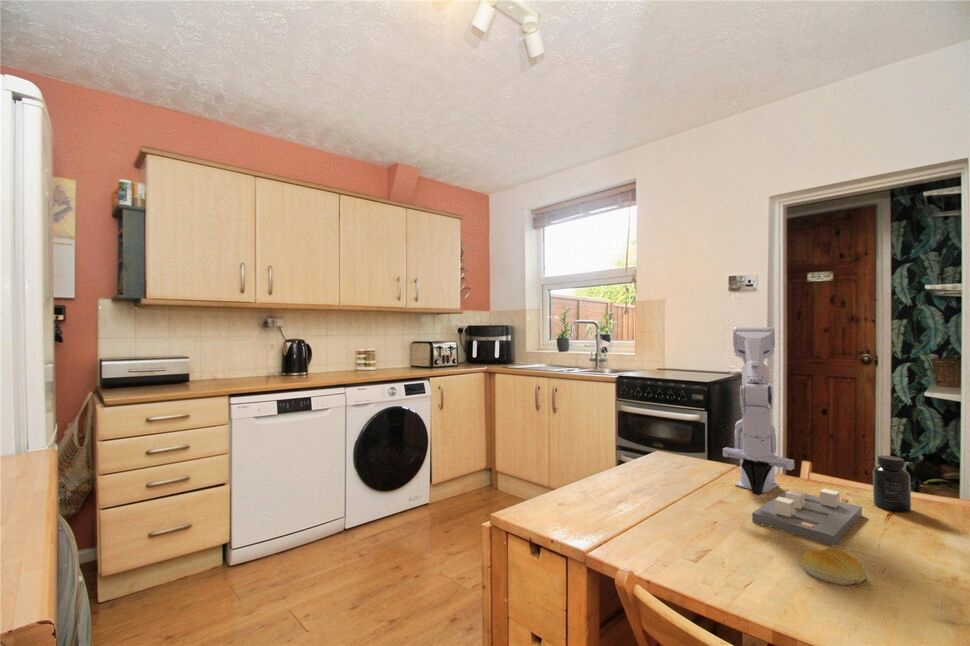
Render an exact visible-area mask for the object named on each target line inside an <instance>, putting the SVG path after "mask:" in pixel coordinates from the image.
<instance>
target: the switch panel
mask: <svg viewBox="0 0 970 646" xmlns="http://www.w3.org/2000/svg"><path fill="white" fill-rule="evenodd" d="M788 490H789V489H786V490H784V491H783V492H782V493H780V494H779V495H777V496H776V497H774V498H772V499H771V500H769V501H768V502H766V503H765V504H763V505H761V506H760V507H759V508H757V509H756V510H754V511H753V512H752V513H751V517H752V520H751V521H752V523H755V522H756V524H758V523H759V524H758V525H762V524H763V525H762V526H765V525H767V526H766V527H768V526H771V527H770V528H772V527H774V528H773V529H775V528H777V529H776V530H779V529H780V530H779V531H782V530H783V531H782V532H785V531H786V532H785V533H790V534H792V533H793V535H795V534H796V536H799V535H800V537H802V536H803V537H802V538H805V537H806V538H805V539H810V540H812V541H815V540H816V541H815V542H819V543H823V544H826V545H830V546H832V545H833V547H835V545H836V544H837V543H838V542H839V541H840V540H841V539H842V538H843V537H844V536H843V535H845V534H846V533H847V532H848V531H849V530H850V529H851V528H852V527H853V526H852V525H853V524H854V525H855V523H856V522H857V521H859V519H860V518H861V517H862V516H861V515H863V514H862V513H863V512H862V511H863V510H862V509H863V508H862V506H860V505H855V504H852V503H848V502H847V503H846V502H842V501H839V503H840V505H839V506H838V507H836V508H834V507H830V506H826V505H822V504H820V496H817V495H814V494H809V493H805V506H804V507H803V508H801V509H798V508H795V514H794V515H792V516H791V517H786V516H783V515H779V514H775V511H774V500H775V499H776V498H778V497H783V498H785V492H787V491H788ZM851 526H852V527H851ZM842 536H843V537H842ZM841 537H842V538H841Z"/></svg>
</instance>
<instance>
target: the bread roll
mask: <svg viewBox="0 0 970 646" xmlns="http://www.w3.org/2000/svg"><path fill="white" fill-rule="evenodd" d="M800 561H801V562H800V563H801V565H802V567H803V569H804V570H805V572H807V573H808V574H809V575H810V576H813V577H815V578H816V579H819V580H821V581H825V582H828V583H832V584H836V585H841V586H842V585H843V586H850V585H854V584H856V585H857V584H858V585H859V584H862V582H864V581H865V580H866V578H867V576H866V574H867V573H866V571H865V569H864V567H863V565H862V563H860V561H858V559H856V558H855V557H854V556H853V555H851V554H850V553H848V552H846V551H844V550H842V549H839V548H834V547H828V548H823V549H821V550H816V549H815V550H814V549H813V550H811V549H810V550H807V551H805V552H804V553H803V554H802V555H801V558H800Z"/></svg>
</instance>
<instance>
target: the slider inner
mask: <svg viewBox="0 0 970 646" xmlns="http://www.w3.org/2000/svg"><path fill="white" fill-rule="evenodd" d="M819 497H820V504H822V505H826V506H830V507H834V508H836V507H838V506H839V505H840V503H839V502H840V491H836V490H832V489H828V488H823V489H821V490H820V492H819Z"/></svg>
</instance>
